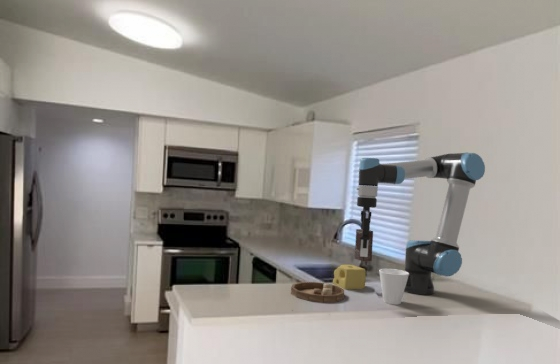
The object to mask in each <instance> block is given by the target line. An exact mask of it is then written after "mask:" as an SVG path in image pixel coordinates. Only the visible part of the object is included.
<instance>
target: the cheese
mask: <svg viewBox="0 0 560 364" xmlns="http://www.w3.org/2000/svg"><path fill="white" fill-rule="evenodd" d="M333 271H334V272H333V275H334V276H333V277H334V278H333V279H332V285H335V286H338V287H340V288H342V289H344V290H359V289H361V290H363V289H365V287H366V277H367V275H366V273H367V272H366V269H365V268H362V267H360V266H356V265H355V264H341V265H340V266H338V267H336V269H334V270H333Z"/></svg>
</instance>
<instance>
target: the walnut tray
mask: <svg viewBox="0 0 560 364" xmlns="http://www.w3.org/2000/svg"><path fill="white" fill-rule="evenodd" d="M324 284H325V282H317V281H301V282H296V283H292V285H291V287H290V294H292V296H294V297H295V298H298V299H301V300H304V301H309V302H310V301H311V302H317V303H334V302H340V301H342V300H344V299H345V289H343V288H341V287H339V286H337V285H334V284H332V295H322V294H323V286H324Z"/></svg>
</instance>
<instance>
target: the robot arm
mask: <svg viewBox="0 0 560 364" xmlns="http://www.w3.org/2000/svg"><path fill="white" fill-rule="evenodd" d="M485 172H486V165H485V162H484V160H483V158H482V156H480V155H479V154H478V153H475V152H467V151H466V152H458V153H455V152H454V153H446V154H440V155H436V156H430V157H429V156H428V157H426V158H424V159H422V160H421V159H420V160H413V161H402V162H401V161H400V162H399V161H398V162H391V163H389V162H388V163H380V159H379V158H377V157H376V158H374V157H362V158H361V159H360V163H359V168H358V187H356V191H357V196H358V197H357V202H356V205H357V207H360V208H362V210H360V222H361V223H360V229H362V238H360V239H361V252H360V256H362V257H367V256H368V242H369V240H368V239H369V230H371V229H370V226H371V219H372V214H373V213H372V211H370V210H371V208H376V207H377V203H378V202H377V201H378V200H377V198H376V197H378V192H379V191H378V188H379V184H393V185H400V184H402V183H403V182H404V180H407V179H414V178H424V177H426V178H428V179H443V180H444V179H446V181H447V184H448V188H447V192H446V194H445V195H446V196H445V200H444V204H443V207H442V211H441V214H440V219H439V224H438V227H437V231H436V235H435V237H433V238H432V239H431V240H408V241H407V242H406V247H405V258H404V259H405V261H404V271H406V272H408V273H409V276H408V279H407V283H406V286H405V290H404V293H405V292H406V293H410V294H414V295H415V294H416V295H425V296H427V295H433V294H434V293H435V285H434V282H433V278H432V273H433V274H436V275H438V276H442V277H443V276H444V277H452V276H454V275H456V274H457V273H458V272H459V270H460V269H461V267H462V264H463V258H462V254H461V253H460V252H459V250H460V246H459V245H458V238H459V235H460V230H461V226H462V222H463V219H464V214H465V210H466V206H467V202H468V198H469V194H470V190H471V189H472V188H474V187H476V182H477V181H479V180H481V179H482V178H483V177H484V175H485Z"/></svg>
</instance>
